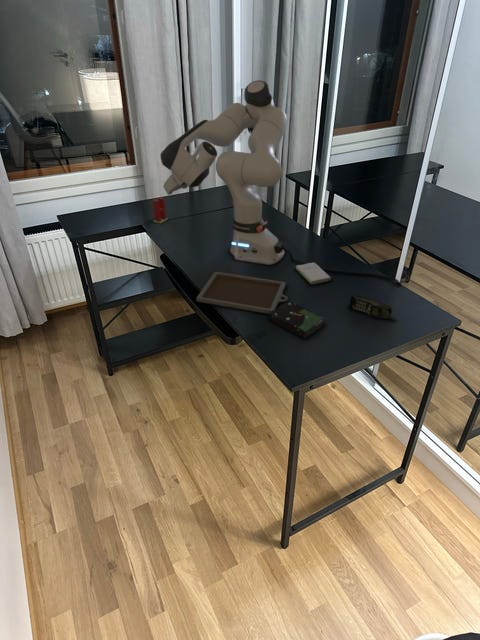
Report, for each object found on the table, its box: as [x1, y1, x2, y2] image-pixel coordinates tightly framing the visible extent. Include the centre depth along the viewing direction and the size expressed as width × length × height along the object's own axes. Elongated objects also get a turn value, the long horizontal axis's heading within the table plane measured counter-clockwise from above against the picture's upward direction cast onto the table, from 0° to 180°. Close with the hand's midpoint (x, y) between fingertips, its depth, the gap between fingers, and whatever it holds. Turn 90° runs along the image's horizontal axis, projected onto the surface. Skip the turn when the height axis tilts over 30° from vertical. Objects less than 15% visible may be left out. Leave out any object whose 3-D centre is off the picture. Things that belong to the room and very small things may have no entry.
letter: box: [152, 196, 167, 222], centre depth 202 cm, size 3×5×10 cm, turn 143°
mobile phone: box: [349, 294, 396, 321], centre depth 141 cm, size 5×3×15 cm
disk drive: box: [268, 300, 325, 338], centre depth 138 cm, size 10×3×15 cm
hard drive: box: [295, 262, 332, 285], centre depth 163 cm, size 2×8×12 cm
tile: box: [152, 217, 169, 224], centre depth 205 cm, size 5×6×1 cm
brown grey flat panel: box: [195, 271, 289, 315], centre depth 152 cm, size 19×2×30 cm
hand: (176, 190), depth 189 cm, fingers open, 8 cm apart
